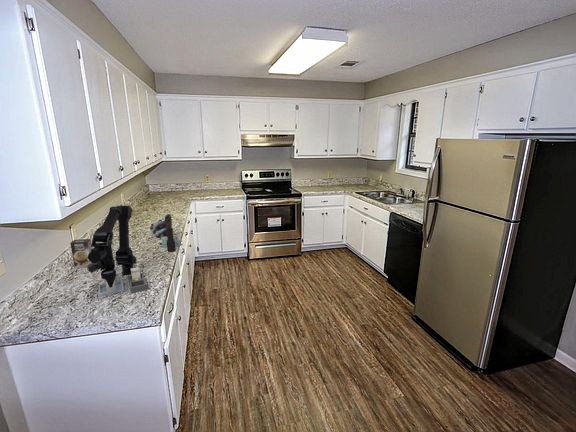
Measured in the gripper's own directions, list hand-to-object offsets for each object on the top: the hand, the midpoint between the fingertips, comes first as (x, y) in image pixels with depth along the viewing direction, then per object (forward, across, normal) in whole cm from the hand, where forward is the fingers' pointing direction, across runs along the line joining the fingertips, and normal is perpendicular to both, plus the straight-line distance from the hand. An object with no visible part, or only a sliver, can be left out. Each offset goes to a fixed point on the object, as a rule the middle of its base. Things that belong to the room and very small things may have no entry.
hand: (110, 283), depth 155 cm
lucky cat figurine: (+4, -82, +38) cm, 90 cm away
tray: (+4, 0, 0) cm, 4 cm away
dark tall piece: (+4, -53, +39) cm, 66 cm away
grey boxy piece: (+4, +2, +12) cm, 13 cm away
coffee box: (+4, -44, -13) cm, 46 cm away
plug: (+3, 0, 0) cm, 3 cm away
